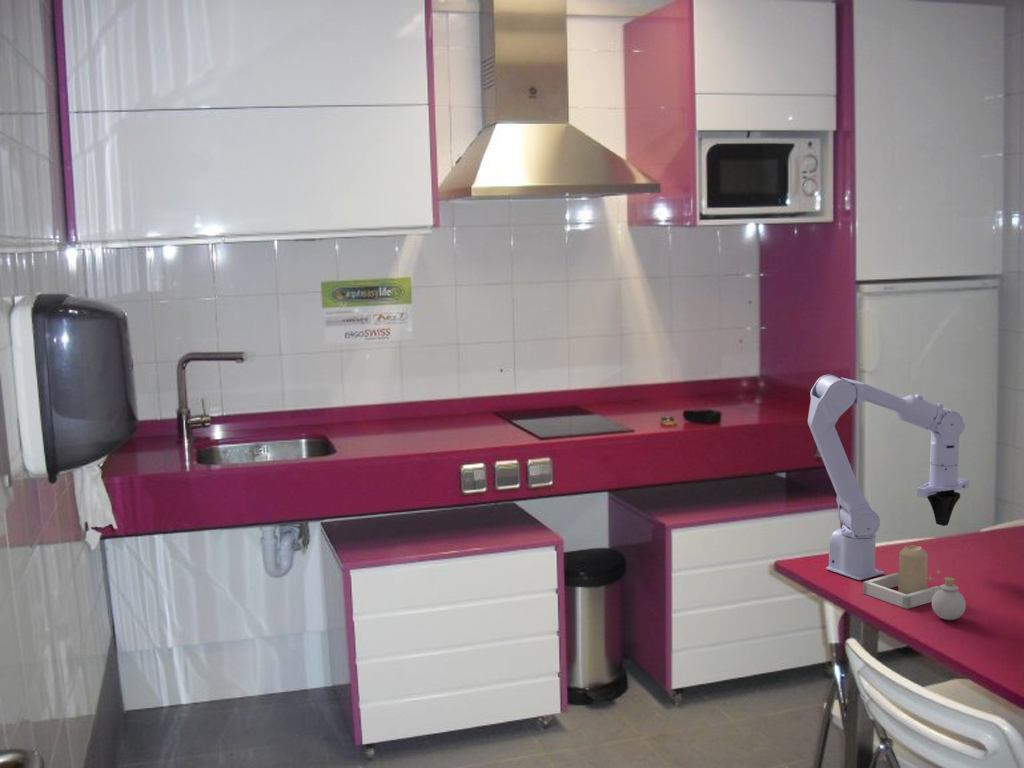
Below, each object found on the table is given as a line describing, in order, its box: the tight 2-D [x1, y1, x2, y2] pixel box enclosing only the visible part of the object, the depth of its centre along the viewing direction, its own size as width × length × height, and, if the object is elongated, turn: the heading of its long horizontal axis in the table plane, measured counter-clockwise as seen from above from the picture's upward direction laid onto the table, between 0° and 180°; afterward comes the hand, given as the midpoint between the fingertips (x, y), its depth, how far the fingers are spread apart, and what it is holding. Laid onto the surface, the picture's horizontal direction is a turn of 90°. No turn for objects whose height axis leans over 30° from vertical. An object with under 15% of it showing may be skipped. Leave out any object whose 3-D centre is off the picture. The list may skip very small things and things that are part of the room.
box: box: [862, 572, 942, 610], centre depth 214 cm, size 11×10×2 cm
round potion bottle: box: [926, 568, 967, 621], centre depth 200 cm, size 6×7×10 cm
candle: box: [897, 544, 929, 595], centre depth 215 cm, size 6×6×10 cm
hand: (942, 524), depth 227 cm, fingers closed
